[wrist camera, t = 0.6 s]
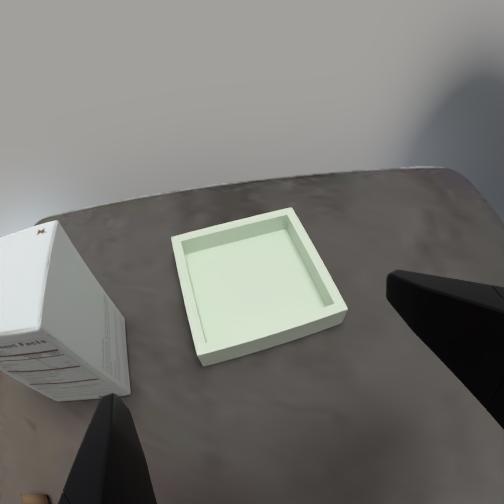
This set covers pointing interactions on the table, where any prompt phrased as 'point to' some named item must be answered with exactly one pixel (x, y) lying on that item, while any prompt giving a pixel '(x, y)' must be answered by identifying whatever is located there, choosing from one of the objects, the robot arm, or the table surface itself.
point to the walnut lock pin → (34, 499)
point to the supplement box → (58, 319)
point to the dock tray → (254, 286)
